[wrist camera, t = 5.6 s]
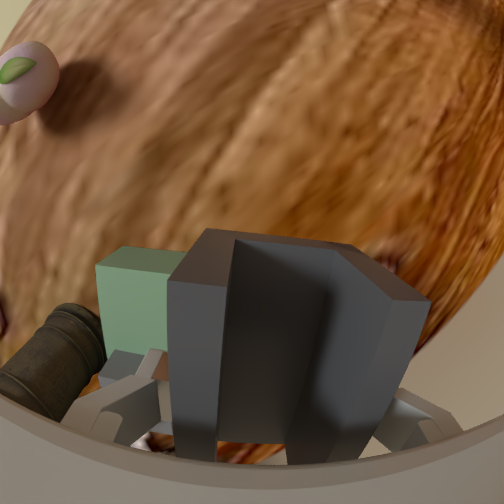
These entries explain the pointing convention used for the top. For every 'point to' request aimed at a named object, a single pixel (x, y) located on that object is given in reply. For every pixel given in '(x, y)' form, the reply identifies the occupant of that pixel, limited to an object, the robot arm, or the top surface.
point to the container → (55, 362)
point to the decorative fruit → (26, 80)
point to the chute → (285, 345)
